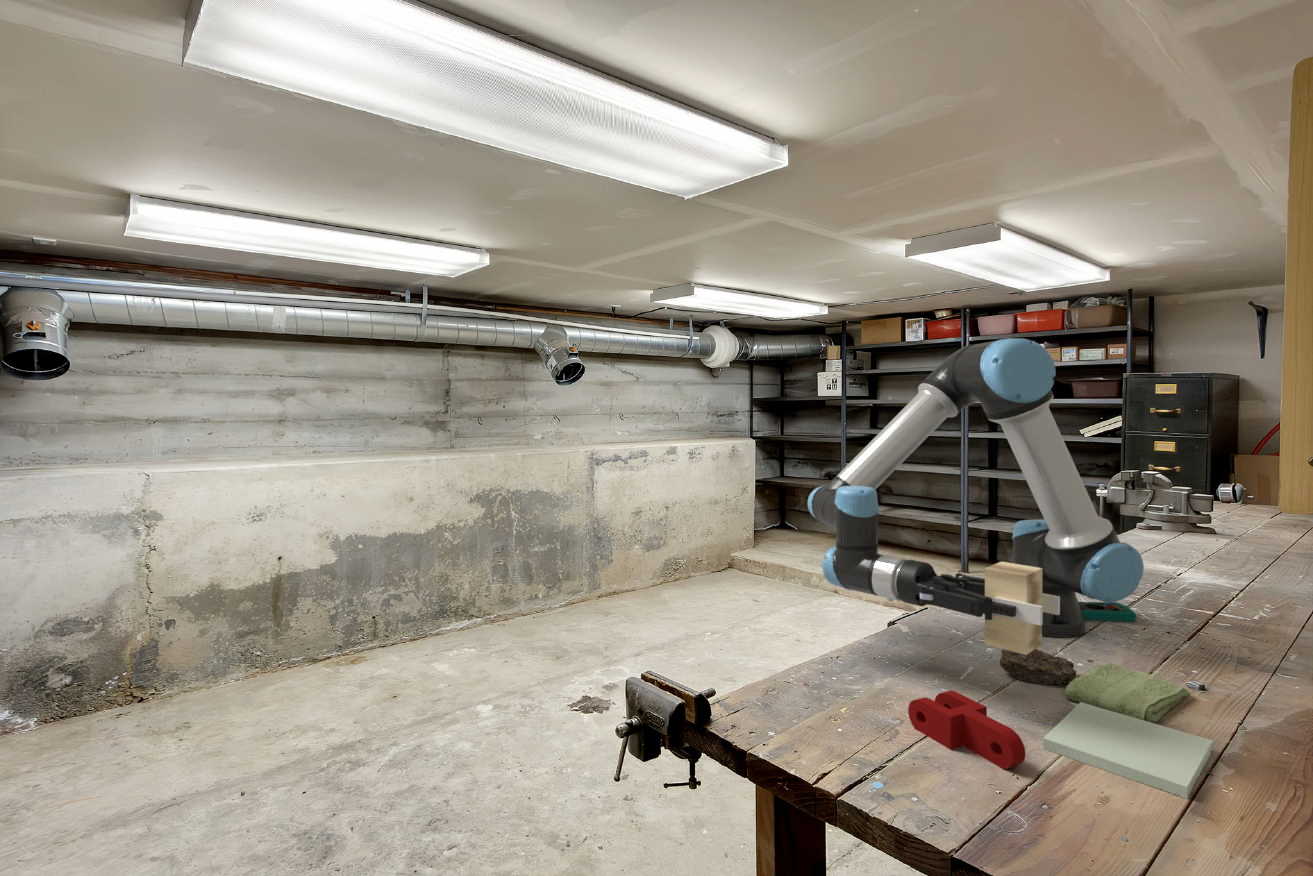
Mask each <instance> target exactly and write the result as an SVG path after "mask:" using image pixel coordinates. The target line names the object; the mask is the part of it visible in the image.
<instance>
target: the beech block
mask: <svg viewBox="0 0 1313 876" xmlns="http://www.w3.org/2000/svg"><path fill="white" fill-rule="evenodd" d="M984 579H985V596H986V597H990V598H992V601H993V602H994V597H1000V598H1005V599H1010V600H1015V601H1020V602H1025V603H1030V604H1035V605H1039V606H1042V568H1038V567H1032V566H1026V565H1020V564H1014V563H1013V562H1008V561H999V562H996V563H994V564H991V565H989V566H988V567H987V566H986V567H984ZM984 645H985V646H986V645H987V646H990V647H994V648H998V649H1001V650H1003V649H1005V650H1009V651H1013V652H1016V653H1020V654H1024V655H1027V654H1028V653H1030V652H1031V651H1033V650H1035V649H1038V648H1040V646H1042V645H1043V636H1042V625H1041V626H1040V625H1036V624H1031V623H1027V622H1022V621H1018V620H1014V619H1009V618H1005V617H1000V616H996V615H994V613H992V620H986V619H985V618H984Z"/></svg>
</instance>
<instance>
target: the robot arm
mask: <svg viewBox="0 0 1313 876" xmlns="http://www.w3.org/2000/svg"><path fill="white" fill-rule="evenodd" d="M1056 372H1057V371H1056V366H1055V363H1054V360H1053V357H1052V356H1051V354H1050V353H1049V352H1048V350H1047V349H1046V348H1045V347H1044V346H1043V345H1041V344H1040V343H1038V342H1037V341H1034V340H1031V339H1027V338H1012V337H1008V338H1000V339H997V340H994V341H993V340H992V341H988V342H982V343H974V344H969V345H965V346H964V347H962V348H960V349H958V350H956V351H955V352H953V353H952V354H950V355H949V356H948V357H947V358H945V359H944V360H943V362H941V363H940V364H939V365H938V366H937V367H936V368H935V369H933V371H932V372H931V373H930V374H929V375H928V376H927V377H926V378H925V379H924V380H923V381H922V382H921V383H920V384H919V385H918V387H917V390H918V393H917V394H916V395H915V396H914V397H913V398H912V399H911V400H910V401H909V402H908V403H907V404H906V405H905V406H904V407H903V408H902V409H901V410H900V411H899V412H898V413H897V415H896V416H894V417H893V418H892V419H891V420H890V422H888V423H887V425H886V426H884V428H882V430H880V432H878V434H877V435H875V436H874V437H873V438H872V440H871V441H870V442H869V443H868V444H867V445H866V446H865V447H864V448H863V449H862V450H861V451H860V452H858V454H857V455H856V456H855V457H854V458H853V459H852V460H851V461H850V462H849V463H848V464H847V465H846V466H845V467H844V468H843V469H842V470H841V471H840V472H839V473H838V474H836V476H835V477H834V478H833V479H832V480H831V481H829V482H828V484H826V485H823V486H818V487H816V488H814V489H813V490H812V492H810V493H809V495H808V499H807V509H808V512H809V513H810V515H811V516H812V517H813V518H815V519H816V521H817V522H820V523H821V524H823V525H826V526H829V527H831V528H832V529H834V530H835V537H836V541H835V546H832V547H830V548H829V549H827V551H826V552H825V555H824V561H823V562H822V565H821V566H822V573H823V576H824V578H825V580H826V581H827V583H829V584H831V585H834V586H837V587H839V588H843V589H845V590H848V591H855V592H858V593H863V594H869V595H873V596H877V597H882V598H887V601H888V602H893V601H899V602H900V601H902V602H903V603H906V604H909V605H914V606H918V607H925V606H928V605H930V606H935V607H938V608H942V609H946V610H951V611H954V612H958V613H962V614H966V615H970V616H974V617H977V618H982V617H984V620H985V619H986V620H992V613H994V615H996V616H1000V617H1005V618H1009V619H1014V620H1018V621H1022V622H1027V623H1031V624H1036V625H1040V626H1041V625H1042V637H1053V638H1072V637H1077V636H1081V635H1083V634H1085V633H1086V632H1085V631H1086V620H1085V619H1084V617H1083V614H1082V611H1081V608H1080V605H1079V603H1078V602H1079V600H1078V597H1077V594H1080V595H1082V596H1085V597H1086V598H1088V599H1091V600H1096V601H1099V602H1120V601H1123V600H1124V599H1126V598H1127V597H1129V596H1131V595H1132V594H1133V593H1134V592H1135V591H1136V590H1137V588H1138V587H1139V585H1140V582H1141V580H1142V579H1143V575H1144V570H1145V567H1144V559H1143V557H1142V556H1141V553H1140V552H1139V551H1138V549H1136V548H1135V547H1134V546H1132V545H1131V544H1130V543H1127V542H1122V541H1120V539H1119V537H1118V535H1117V533H1116V530H1115V527H1114V526H1113V524H1112V523H1111V521H1110V520H1109V519H1107V518H1103V517H1101V516H1099V515H1098V513H1097V510H1096V509H1095V506H1094V505H1093V502H1092V500H1091V497H1090V495H1089V493H1088V490H1087V488H1086V486H1085V484H1084V482H1083V480H1082V477H1081V476H1080V473H1079V471H1078V469H1077V467H1076V465H1075V462H1074V461H1073V460H1074V459H1073V458H1072V455H1071V453H1070V451H1069V449H1068V448H1067V445H1066V442H1065V440H1064V438H1063V435H1062V434H1061V432H1060V429H1059V426H1058V425H1057V422H1056V420H1055V418H1054V415H1053V413H1052V412H1051V410H1050V404H1051V402H1052V401H1053V399H1054V398H1055V397H1054V393H1053V391H1052V388H1053V386H1054V383H1055V380H1054V378H1055V377H1056ZM975 403H980V405H981V407H982V408H983V412H984V413H985V415H986V417H987V419H988V420H989V421H990V422H993V423H996V424H999V425H1000V426H1001V428H1002V431H1003V433H1004V435H1005V437H1006V439H1007V442H1008V444H1009V446H1010V448H1011V451H1012V452H1013V456H1014V457H1015V459H1016V461H1017V464H1018V466H1019V467H1020V470H1021V472H1022V474H1023V477H1024V478H1025V481H1026V482H1027V483H1026V484H1027V485H1028V486H1029V489H1030V491H1031V494H1032V496H1033V498H1034V500H1035V502H1036V504H1037V506H1038V508H1039V509H1038V510H1039V511H1040V512H1041V515H1042V517H1043V519H1024V520H1019V521H1017V522H1016V523H1014V525H1013V530H1012V537H1011V540H1012V563H1014V564H1020V565H1026V566H1032V567H1038V568H1042V606H1039V605H1035V604H1030V603H1025V602H1020V601H1015V600H1010V599H1005V598H1000V597H994V602H993V601H992V598H990V597H986V596H985V578H982V577H976V576H970V575H966V574H964V573H960V572H959V573H955V576H953V575H951V574H945V573H942V574H940V575H938V574H937V573H936V571H935V569H934V567H933V565H931V564H930V563H929V562H925V561H921V560H915V559H907V558H904V557H900V556H892V555H888V554H881V553H879V552H878V551H879V550H878V549H879V541H878V539H879V533H878V532H879V510H880V506H879V502H878V493H877V489H878V488H879V486H881V485H882V483H884V481H885V480H886V479H888V477H890V475H892V474H893V473H894V471H895V470H896V469H898V467H900V465H902V464H903V463H904V461H906V459H907V458H909V457H910V455H911V454H912V453H913V452H914V451H916V449H917V448H918V447H919V446H920V445H921V444H923V443H924V442H925V440H926V439H927V438H928V437H929V436H930V435H931V434H933V432H934V431H935V430H936V429H937V428H938V427H939V426H940V425H941V424H942V423H943V422H944V421H946V419H947V418H955V417H957V415H959V414H960V413H961V412H962V411H963V410H964V409H966V408H967V407H969V406H971V405H973V404H975ZM1076 593H1077V594H1076ZM983 615H984V616H983Z"/></svg>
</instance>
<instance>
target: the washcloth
mask: <svg viewBox="0 0 1313 876" xmlns="http://www.w3.org/2000/svg"><path fill="white" fill-rule="evenodd" d="M1064 689H1065V690H1064V691H1063V693H1064V695H1065V698H1066V699H1068V700H1069V701H1072V702H1075V701H1076V702H1075V703H1078V704H1079V703H1080V702H1082V703H1085V704H1089V705H1092V706H1096V707H1099V708H1103V709H1106V710H1109V711H1113V712H1116V713H1120V714H1123V715H1127V716H1130V717H1134V718H1137V719H1140V720H1144V721H1147V722H1151V723H1154V724H1155V723H1157V722H1158V721H1160V720H1161V718H1162V717H1163V716H1165V715H1164V713H1166V714H1167V713H1168V712H1169V711H1170V710H1171V709H1172V708H1175V706H1176V705H1178V704H1179V703H1180V702H1181V701H1183V700H1184V699H1185V698H1186V697H1190V696H1191V692H1190V691H1189V690H1188V689H1187V688H1185V687H1183V686H1181V685H1180V684H1177V683H1174V682H1169V681H1168V680H1164V679H1162V678H1160V677H1158V676H1156V675H1152V674H1150V673H1146V672H1143V671H1138V670H1129V669H1127V668H1125V667H1122V666H1120V665H1119V664H1116V663H1106V664H1105V663H1104V664H1101V665H1100V664H1098V665H1097V666H1095V668H1092V669H1091V670H1088V672H1085V674H1082V675H1080V676H1076V677H1075V678H1074V679H1073V681H1072V682H1070V683H1069V684H1067V686H1065V688H1064Z"/></svg>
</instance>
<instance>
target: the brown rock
mask: <svg viewBox="0 0 1313 876" xmlns="http://www.w3.org/2000/svg"><path fill="white" fill-rule="evenodd" d="M1000 652H1001V657H1000V660H999V665H1000V667H1001V668H1002V669H1003V671H1005V672H1006V673H1009V674H1012V675H1014V677H1015V678H1017V679H1018V680H1021V681H1023V682H1025V681H1027V682H1029V683H1038V684H1043V685H1063V684H1062V683H1064V684H1065V685H1066V684H1067V685H1068V684H1069V683H1070V682H1072V681H1073V679H1075V678H1076V677H1077V670H1075V668H1074V667H1075V664H1074V662H1072V661H1071V660H1069V659H1067V658H1064V657H1060V656H1053V655H1051V654H1050V653H1047V652H1044V651H1043V650H1038V648H1036V649H1035V650H1033V651H1031V652H1030V653H1028V654H1027V655H1024V654H1020V653H1016V652H1013V651H1009V650H1005V649H1001V650H1000Z"/></svg>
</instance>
